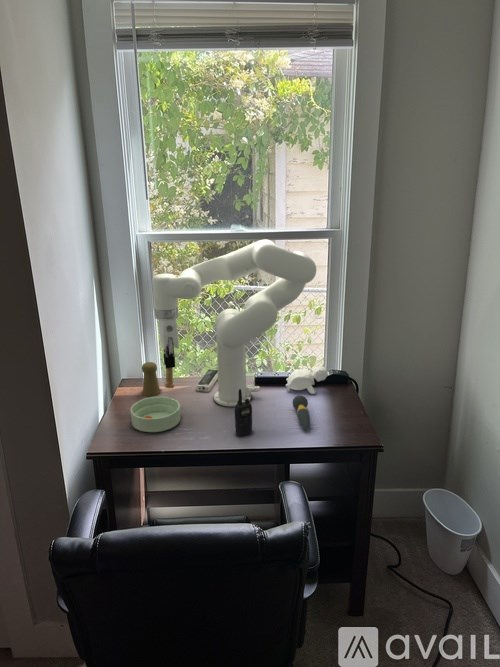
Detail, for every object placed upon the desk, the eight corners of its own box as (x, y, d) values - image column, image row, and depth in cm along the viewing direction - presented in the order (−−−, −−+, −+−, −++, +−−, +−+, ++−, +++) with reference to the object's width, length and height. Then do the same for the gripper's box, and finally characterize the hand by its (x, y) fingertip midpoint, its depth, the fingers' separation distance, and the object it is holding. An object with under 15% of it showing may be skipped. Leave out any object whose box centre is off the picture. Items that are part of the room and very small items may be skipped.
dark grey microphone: (318, 432, 154) (319, 417, 153) (302, 433, 154) (303, 418, 152) (304, 402, 173) (304, 389, 171) (289, 403, 172) (289, 390, 171)
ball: (145, 428, 157) (155, 425, 158) (143, 420, 156) (152, 416, 157) (143, 424, 160) (153, 421, 160) (141, 415, 158) (150, 412, 159)
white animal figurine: (291, 401, 180) (332, 388, 177) (282, 380, 178) (323, 367, 175) (292, 390, 188) (331, 378, 185) (283, 370, 186) (323, 357, 183)
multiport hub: (219, 375, 195) (219, 370, 194) (208, 392, 181) (208, 386, 181) (208, 374, 196) (208, 369, 195) (196, 390, 182) (196, 385, 182)
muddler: (173, 383, 174) (172, 347, 170) (175, 387, 172) (174, 351, 167) (163, 384, 173) (163, 348, 169) (165, 388, 171) (164, 352, 166)
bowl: (176, 407, 171) (175, 393, 169) (184, 429, 157) (183, 414, 155) (130, 414, 167) (128, 400, 165) (134, 437, 153) (132, 422, 151)
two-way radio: (238, 438, 152) (237, 392, 147) (231, 431, 155) (230, 386, 150) (254, 433, 154) (254, 388, 149) (247, 427, 158) (246, 382, 153)
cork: (154, 386, 186) (151, 358, 182) (163, 392, 182) (161, 363, 178) (139, 392, 182) (136, 363, 179) (148, 397, 178) (146, 368, 174)
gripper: (182, 318, 158) (185, 373, 164) (174, 305, 172) (177, 356, 178) (158, 321, 156) (161, 376, 162) (151, 307, 170) (155, 358, 176)
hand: (169, 365), depth 170 cm, fingers closed on muddler, 2 cm apart
